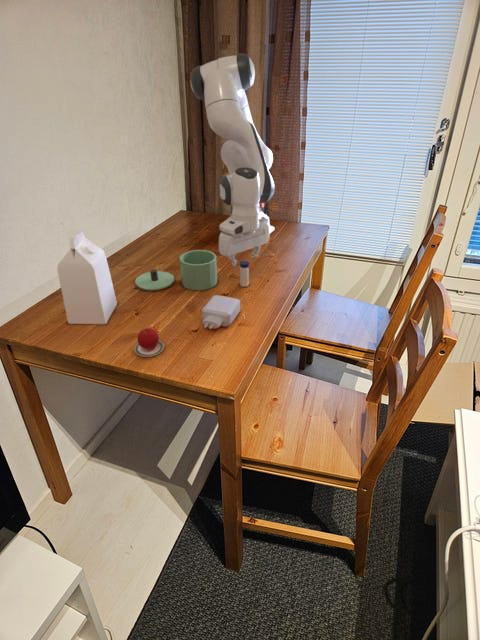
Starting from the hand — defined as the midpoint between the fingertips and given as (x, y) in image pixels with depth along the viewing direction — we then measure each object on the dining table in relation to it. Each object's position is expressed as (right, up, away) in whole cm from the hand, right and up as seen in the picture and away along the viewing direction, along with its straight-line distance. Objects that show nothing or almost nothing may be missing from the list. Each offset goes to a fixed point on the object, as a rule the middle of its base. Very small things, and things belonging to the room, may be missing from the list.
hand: (244, 261), depth 140 cm
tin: (-16, -6, +7) cm, 19 cm away
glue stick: (0, -8, +5) cm, 9 cm away
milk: (-48, -18, -11) cm, 52 cm away
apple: (-27, -28, -26) cm, 47 cm away
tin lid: (-32, -6, +6) cm, 33 cm away
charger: (-8, -21, -15) cm, 27 cm away
